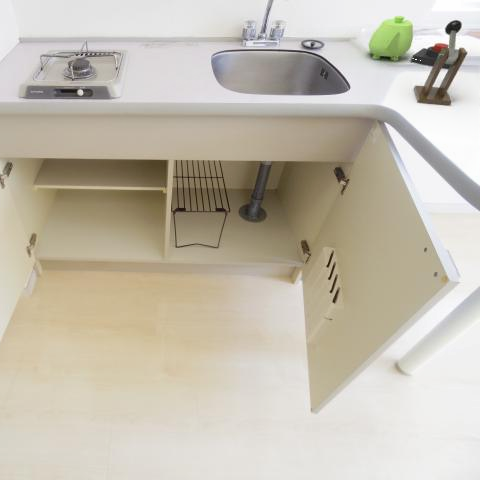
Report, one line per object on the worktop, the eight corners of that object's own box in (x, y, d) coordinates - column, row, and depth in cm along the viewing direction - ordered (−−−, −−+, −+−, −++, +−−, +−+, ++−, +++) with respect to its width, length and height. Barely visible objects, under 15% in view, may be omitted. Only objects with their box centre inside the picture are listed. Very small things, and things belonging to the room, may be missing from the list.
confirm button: (447, 50, 119) (450, 44, 118) (443, 53, 117) (446, 47, 116) (434, 48, 121) (437, 42, 120) (430, 50, 119) (433, 45, 118)
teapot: (406, 67, 119) (424, 25, 110) (364, 63, 124) (378, 22, 115) (404, 49, 132) (420, 10, 123) (366, 46, 136) (378, 8, 127)
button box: (457, 61, 121) (464, 48, 118) (448, 69, 116) (455, 56, 113) (420, 54, 127) (425, 42, 124) (410, 61, 122) (415, 49, 120)
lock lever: (442, 28, 100) (449, 16, 97) (457, 29, 99) (465, 17, 96) (439, 65, 96) (446, 54, 93) (454, 66, 95) (462, 55, 92)
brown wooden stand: (413, 89, 106) (434, 43, 97) (443, 91, 104) (468, 44, 95) (417, 102, 100) (440, 54, 91) (449, 105, 97) (477, 56, 88)
